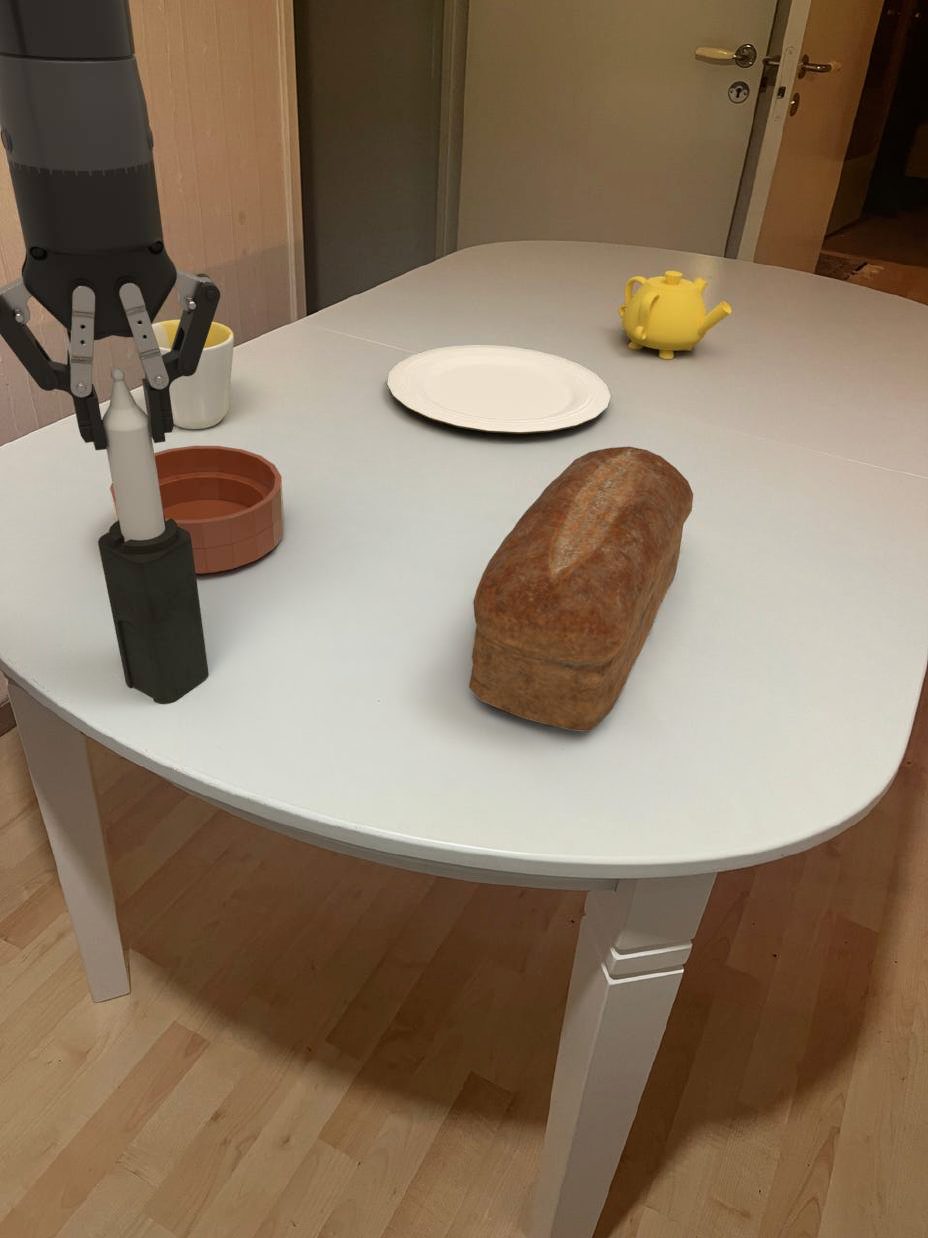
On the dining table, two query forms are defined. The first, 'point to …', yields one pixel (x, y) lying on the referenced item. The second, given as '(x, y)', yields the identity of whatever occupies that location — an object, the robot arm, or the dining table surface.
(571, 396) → the plate
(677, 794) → the dining table surface
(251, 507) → the bowl
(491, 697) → the bread
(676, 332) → the teapot
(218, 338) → the mug
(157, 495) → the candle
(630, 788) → the dining table surface
